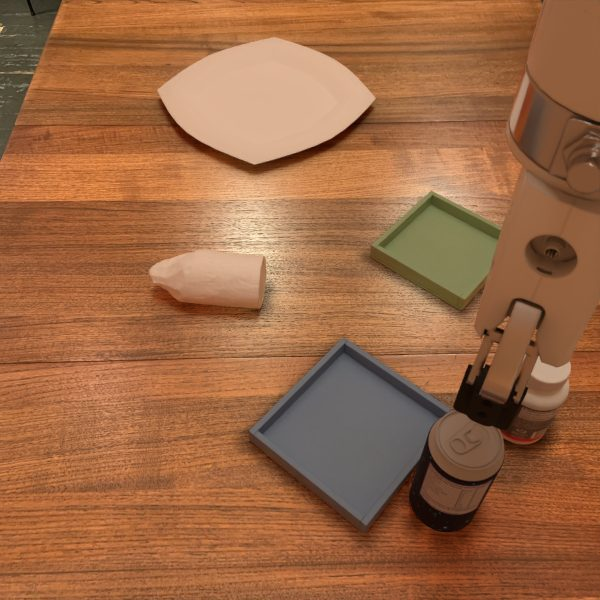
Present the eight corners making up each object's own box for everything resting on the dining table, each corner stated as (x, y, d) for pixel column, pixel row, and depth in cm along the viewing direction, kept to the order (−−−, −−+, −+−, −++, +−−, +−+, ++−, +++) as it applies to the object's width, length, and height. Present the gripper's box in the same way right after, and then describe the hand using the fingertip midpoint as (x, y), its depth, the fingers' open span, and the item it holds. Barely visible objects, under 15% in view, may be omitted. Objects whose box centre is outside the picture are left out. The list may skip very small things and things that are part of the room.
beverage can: (487, 515, 56) (526, 451, 46) (434, 549, 54) (463, 489, 45) (446, 461, 59) (474, 391, 50) (394, 492, 57) (414, 425, 48)
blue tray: (453, 422, 61) (456, 412, 60) (364, 534, 55) (366, 526, 53) (342, 347, 67) (343, 336, 65) (249, 440, 60) (248, 430, 59)
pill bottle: (483, 395, 63) (508, 335, 56) (538, 395, 63) (571, 336, 56) (492, 446, 60) (521, 390, 52) (551, 447, 60) (588, 390, 52)
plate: (134, 100, 94) (131, 88, 93) (277, 36, 106) (277, 24, 104) (251, 194, 81) (251, 182, 80) (400, 110, 93) (401, 98, 91)
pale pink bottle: (161, 269, 73) (153, 233, 69) (267, 277, 73) (265, 242, 68) (148, 311, 70) (138, 276, 65) (259, 320, 69) (257, 285, 65)
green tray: (517, 248, 76) (521, 237, 74) (461, 311, 70) (464, 300, 68) (428, 201, 81) (431, 190, 79) (369, 256, 75) (371, 245, 73)
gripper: (676, 291, 21) (528, 503, 34) (724, 39, 31) (595, 280, 44) (450, 216, 23) (394, 443, 36) (563, 3, 33) (486, 243, 46)
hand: (504, 353), depth 40 cm, fingers open, 9 cm apart
